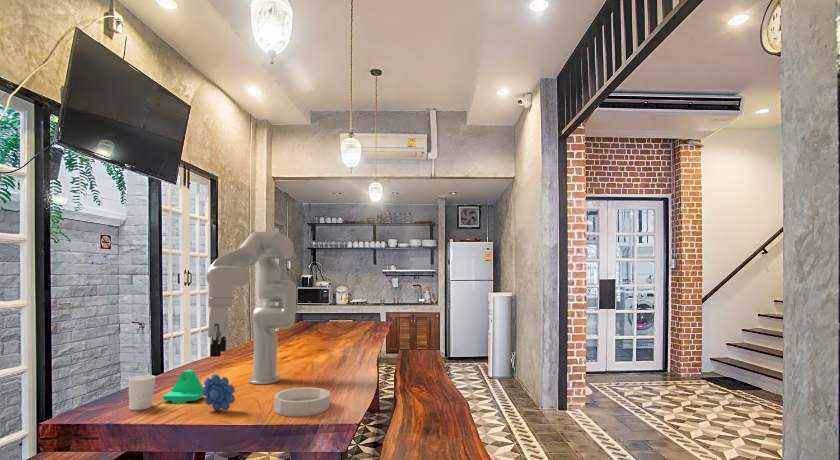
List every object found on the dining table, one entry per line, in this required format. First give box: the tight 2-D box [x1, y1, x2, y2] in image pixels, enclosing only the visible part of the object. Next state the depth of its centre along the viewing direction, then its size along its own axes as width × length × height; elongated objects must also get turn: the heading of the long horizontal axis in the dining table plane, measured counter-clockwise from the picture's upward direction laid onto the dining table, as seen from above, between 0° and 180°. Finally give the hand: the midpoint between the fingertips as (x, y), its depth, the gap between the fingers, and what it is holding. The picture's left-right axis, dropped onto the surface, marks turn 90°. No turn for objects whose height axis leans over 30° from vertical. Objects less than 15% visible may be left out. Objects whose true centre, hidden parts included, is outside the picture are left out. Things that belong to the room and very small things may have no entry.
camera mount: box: [162, 369, 205, 404], centre depth 173 cm, size 12×8×10 cm, turn 92°
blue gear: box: [201, 373, 236, 412], centre depth 160 cm, size 12×7×12 cm, turn 86°
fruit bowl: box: [273, 386, 331, 418], centre depth 164 cm, size 18×18×5 cm
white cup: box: [128, 374, 156, 411], centre depth 164 cm, size 8×8×10 cm
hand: (218, 353), depth 161 cm, fingers open, 9 cm apart
